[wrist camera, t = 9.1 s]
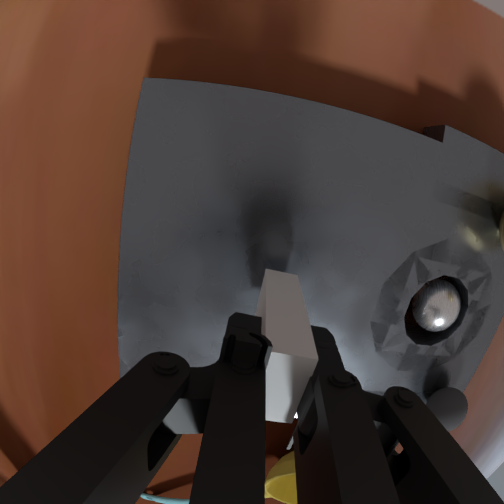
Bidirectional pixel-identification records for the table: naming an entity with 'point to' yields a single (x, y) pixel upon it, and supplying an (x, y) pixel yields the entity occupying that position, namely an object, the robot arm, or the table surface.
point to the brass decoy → (502, 231)
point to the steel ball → (436, 305)
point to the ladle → (276, 484)
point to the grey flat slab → (306, 230)
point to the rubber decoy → (448, 407)
